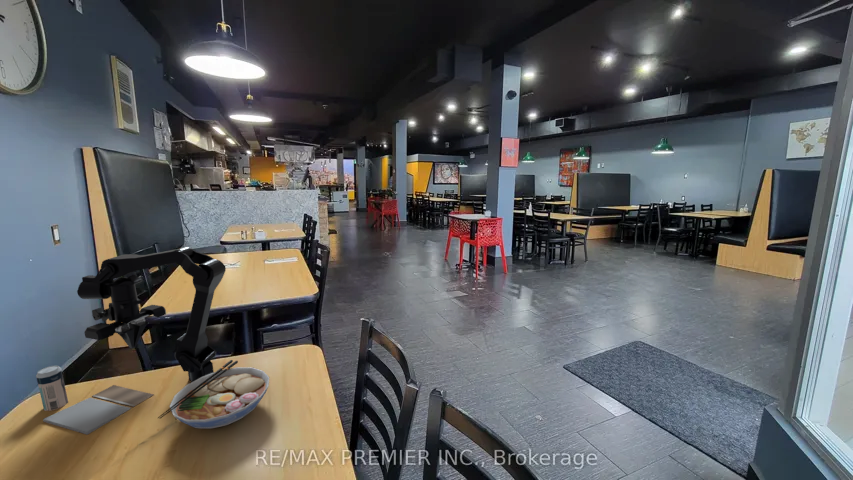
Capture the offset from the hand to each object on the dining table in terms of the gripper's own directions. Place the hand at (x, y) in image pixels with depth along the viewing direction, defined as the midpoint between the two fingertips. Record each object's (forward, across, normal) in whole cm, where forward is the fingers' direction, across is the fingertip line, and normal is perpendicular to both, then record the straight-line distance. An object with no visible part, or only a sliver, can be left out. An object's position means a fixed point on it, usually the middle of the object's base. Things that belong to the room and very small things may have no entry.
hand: (132, 347), depth 105 cm
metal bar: (+12, +7, +4) cm, 14 cm away
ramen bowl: (+12, +4, +37) cm, 39 cm away
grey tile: (+12, +15, +4) cm, 20 cm away
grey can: (+12, +15, -9) cm, 21 cm away
